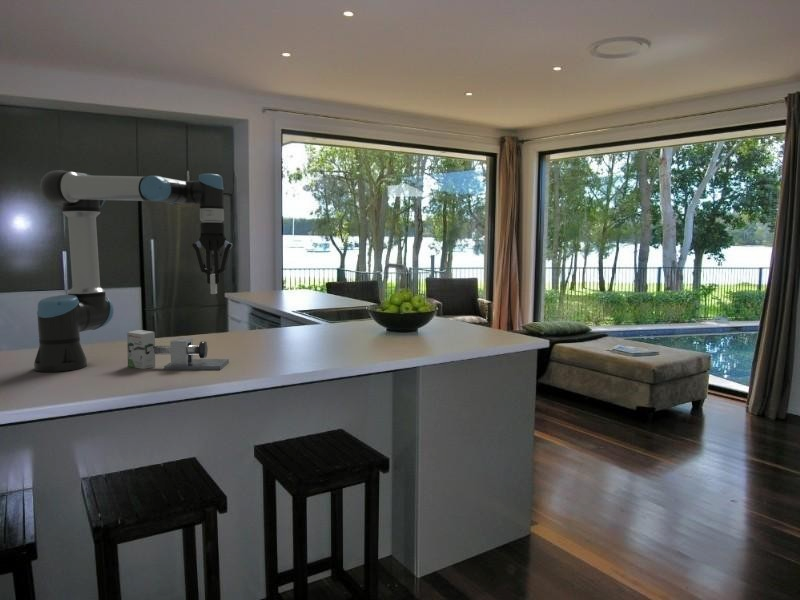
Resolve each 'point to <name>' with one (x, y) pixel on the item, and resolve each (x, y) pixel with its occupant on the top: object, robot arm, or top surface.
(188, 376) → the top surface
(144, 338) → the ink box
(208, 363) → the rail
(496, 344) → the top surface
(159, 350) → the shaft
